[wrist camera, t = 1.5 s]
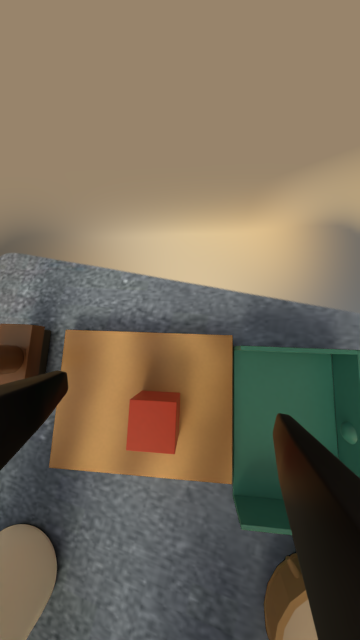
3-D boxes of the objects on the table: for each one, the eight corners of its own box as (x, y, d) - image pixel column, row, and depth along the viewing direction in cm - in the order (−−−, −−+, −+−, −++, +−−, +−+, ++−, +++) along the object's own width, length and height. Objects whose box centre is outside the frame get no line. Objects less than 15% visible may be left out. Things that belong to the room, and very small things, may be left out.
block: (139, 431, 21) (125, 450, 17) (141, 390, 21) (129, 399, 17) (178, 434, 20) (174, 454, 16) (180, 392, 21) (176, 402, 17)
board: (58, 460, 22) (48, 467, 21) (73, 330, 24) (65, 329, 23) (229, 475, 21) (232, 484, 19) (230, 336, 23) (232, 335, 21)
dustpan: (232, 496, 20) (241, 530, 17) (232, 346, 23) (240, 345, 19) (423, 514, 19) (480, 555, 15) (404, 353, 21) (450, 353, 17)
